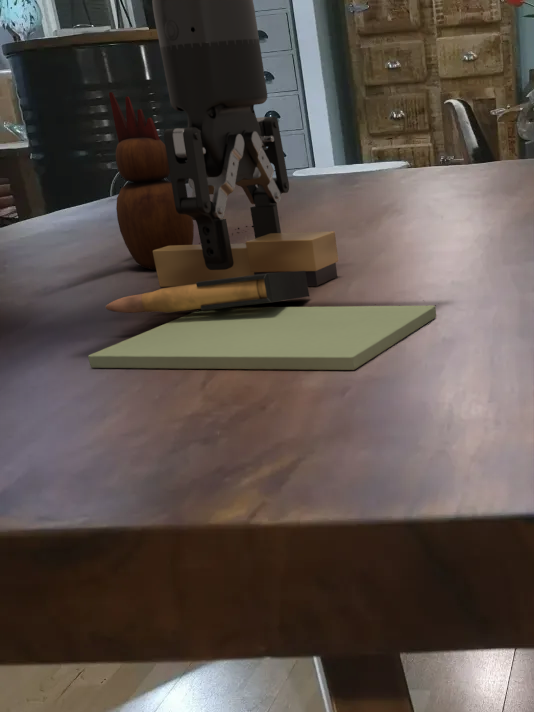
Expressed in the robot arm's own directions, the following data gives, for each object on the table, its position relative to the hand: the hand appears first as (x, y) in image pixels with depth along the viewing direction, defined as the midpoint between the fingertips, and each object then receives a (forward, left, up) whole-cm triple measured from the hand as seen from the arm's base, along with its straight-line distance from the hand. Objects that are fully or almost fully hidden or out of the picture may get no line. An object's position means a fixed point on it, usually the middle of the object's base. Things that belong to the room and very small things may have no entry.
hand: (246, 260), depth 92 cm
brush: (-1, 0, -2) cm, 2 cm away
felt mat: (+13, -21, -2) cm, 24 cm away
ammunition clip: (+10, -12, 0) cm, 16 cm away
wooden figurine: (-14, +9, -2) cm, 17 cm away
